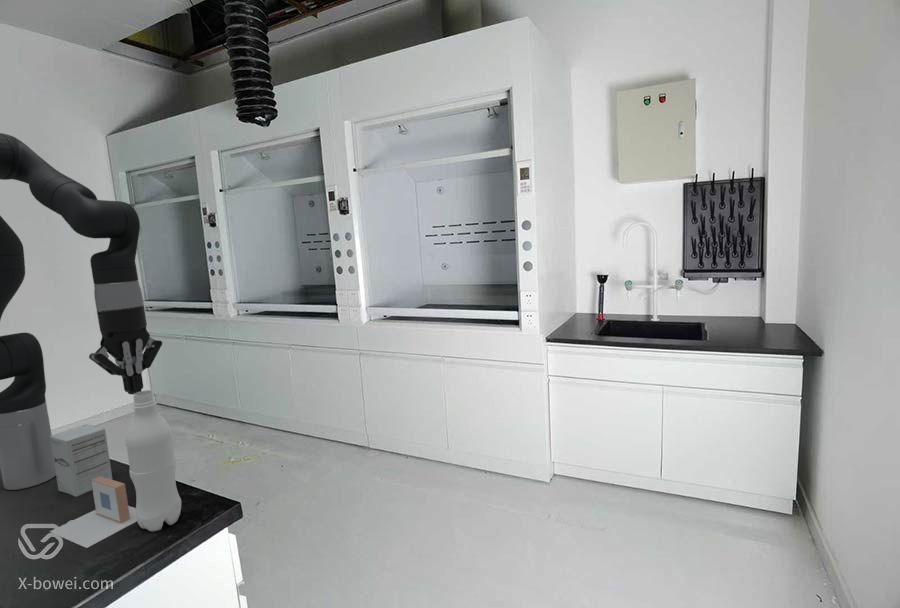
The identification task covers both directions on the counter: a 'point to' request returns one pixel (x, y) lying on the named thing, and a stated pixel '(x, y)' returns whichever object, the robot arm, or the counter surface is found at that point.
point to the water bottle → (152, 465)
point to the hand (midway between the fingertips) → (134, 393)
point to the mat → (92, 528)
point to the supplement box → (80, 458)
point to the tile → (110, 499)
